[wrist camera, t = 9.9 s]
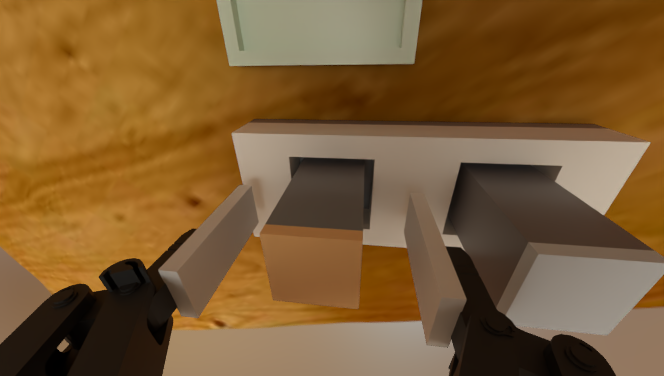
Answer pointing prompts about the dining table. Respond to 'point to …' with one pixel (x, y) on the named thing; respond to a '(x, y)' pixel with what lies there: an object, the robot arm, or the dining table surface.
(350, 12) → the tray
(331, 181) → the plug
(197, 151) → the dining table surface
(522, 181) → the grey square peg
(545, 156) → the strip
